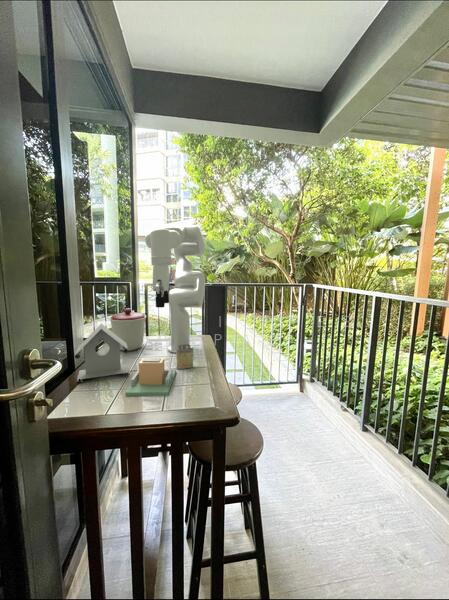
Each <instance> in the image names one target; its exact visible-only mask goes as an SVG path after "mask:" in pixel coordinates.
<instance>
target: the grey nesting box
mask: <svg viewBox="0 0 449 600" xmlns="http://www.w3.org/2000/svg"><path fill="white" fill-rule="evenodd" d="M101 341H103V342H104V344H107V345H108V347H109V350H108V352H107V353H106V354H104V355H102V354H98V353H97V351H96V348H97V345H99V344H101ZM120 344H121V345H122V347H123V351H122V352H123V353H124V354H128V353H129V351H128V347H127V344H126V342H124V341H123V340H122V339H120V338H119V337H118V336H117V335H115V334H114V333H113V332H112V330H110V329H109V328H108V327H106V326H105V325H104V324H103V323H100V324H99V325H98V326H97V327H96V328H95V330H94V331H93V332H92V333H91V334H90V335H89V336H88V337H86V339H84V341H83V342H82V343H81V344H79V346H78V347H77V348H76V350H75V354H74V359H75V360H80V358H81V356H82V351H83V350H84V354H83V355H84V366H85V367H84V368H85V369H80V370H78V373H79V374H77V379H76V381H77V380H79V379H80V381H79V382H81V380H82V381H83V380H85V379H91V378H92V379H93V378H99V377H105V376H113V375H119V374H123V376H124V377H125V378H127V377H129V376H130V372H129V368H128V365H127V364H125V363H124V364H122V363H121V350H120Z"/></svg>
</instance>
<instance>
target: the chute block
mask: <svg viewBox="0 0 449 600" xmlns="http://www.w3.org/2000/svg"><path fill="white" fill-rule="evenodd" d="M165 369H166V367H165V358H164V357H143V358H141V359H140V361H139V362H138V370H139V385H162V384H163V381H164V379H165Z"/></svg>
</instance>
